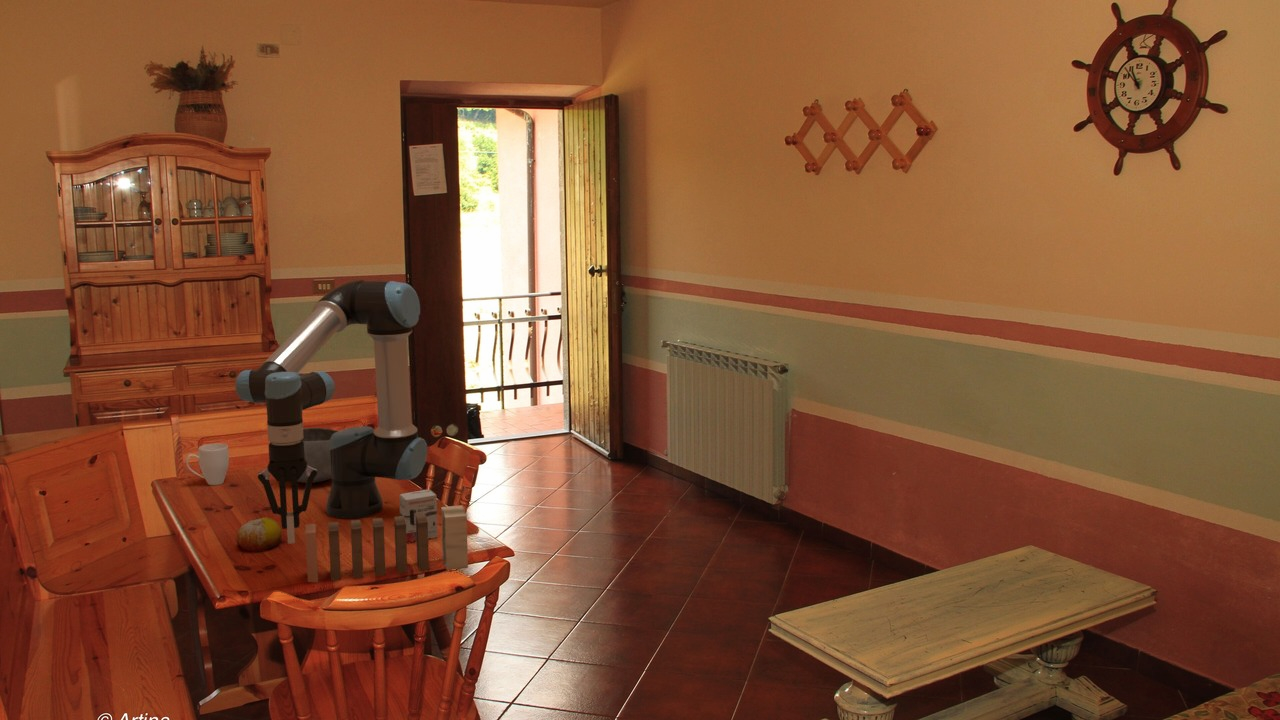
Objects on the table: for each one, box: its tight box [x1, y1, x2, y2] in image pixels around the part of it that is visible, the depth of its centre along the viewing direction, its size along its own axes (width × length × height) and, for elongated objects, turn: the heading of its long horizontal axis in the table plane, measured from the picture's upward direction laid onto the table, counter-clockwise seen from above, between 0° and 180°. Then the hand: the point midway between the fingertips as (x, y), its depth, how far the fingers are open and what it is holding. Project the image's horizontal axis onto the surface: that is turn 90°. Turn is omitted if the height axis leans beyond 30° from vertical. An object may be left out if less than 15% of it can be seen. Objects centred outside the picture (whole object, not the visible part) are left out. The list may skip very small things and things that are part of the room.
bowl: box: [297, 427, 339, 484], centre depth 302 cm, size 20×20×15 cm
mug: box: [185, 442, 230, 486], centre depth 298 cm, size 12×8×11 cm
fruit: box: [235, 517, 283, 553], centre depth 249 cm, size 11×10×8 cm
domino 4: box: [372, 517, 387, 577], centre depth 233 cm, size 6×2×12 cm, turn 18°
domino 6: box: [415, 514, 430, 572], centre depth 236 cm, size 6×2×12 cm, turn 18°
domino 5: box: [393, 515, 408, 575], centre depth 234 cm, size 6×2×12 cm, turn 18°
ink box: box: [399, 488, 438, 543], centre depth 255 cm, size 8×5×12 cm, turn 123°
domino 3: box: [350, 519, 364, 579], centre depth 231 cm, size 6×2×12 cm, turn 18°
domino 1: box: [304, 523, 319, 584], centre depth 228 cm, size 6×2×12 cm, turn 18°
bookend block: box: [440, 504, 469, 571], centre depth 238 cm, size 8×5×13 cm, turn 18°
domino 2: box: [327, 521, 342, 582], centre depth 230 cm, size 6×2×12 cm, turn 18°
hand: (291, 541), depth 226 cm, fingers closed
